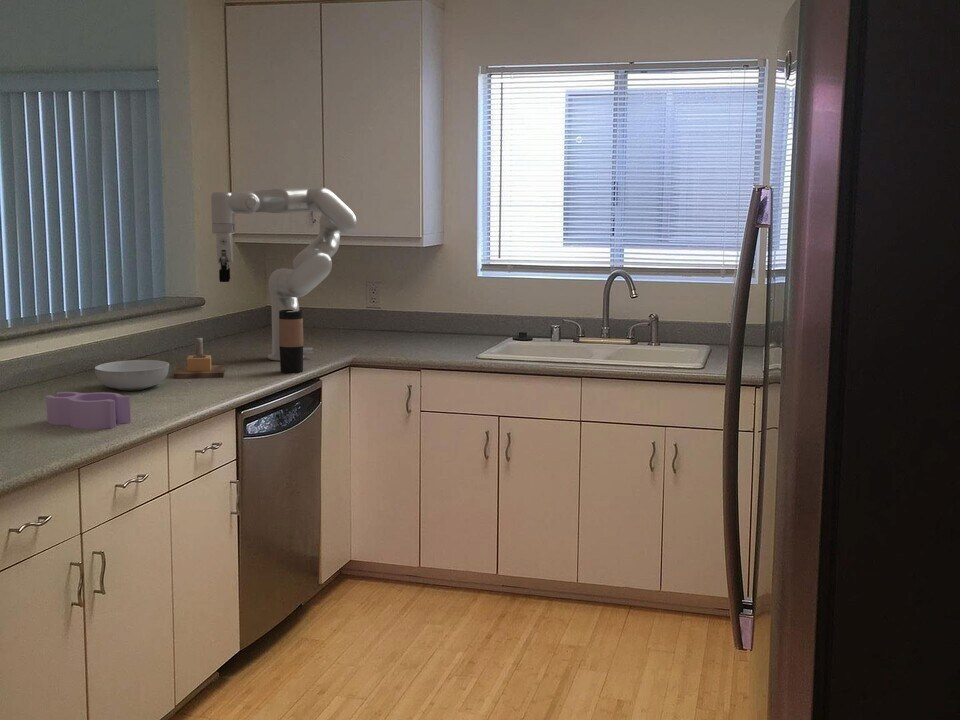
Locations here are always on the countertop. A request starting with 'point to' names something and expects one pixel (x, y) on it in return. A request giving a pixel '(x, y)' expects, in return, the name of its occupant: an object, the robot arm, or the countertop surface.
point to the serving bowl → (132, 374)
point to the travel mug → (291, 341)
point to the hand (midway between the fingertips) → (224, 280)
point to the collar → (199, 363)
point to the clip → (88, 409)
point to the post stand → (213, 373)
